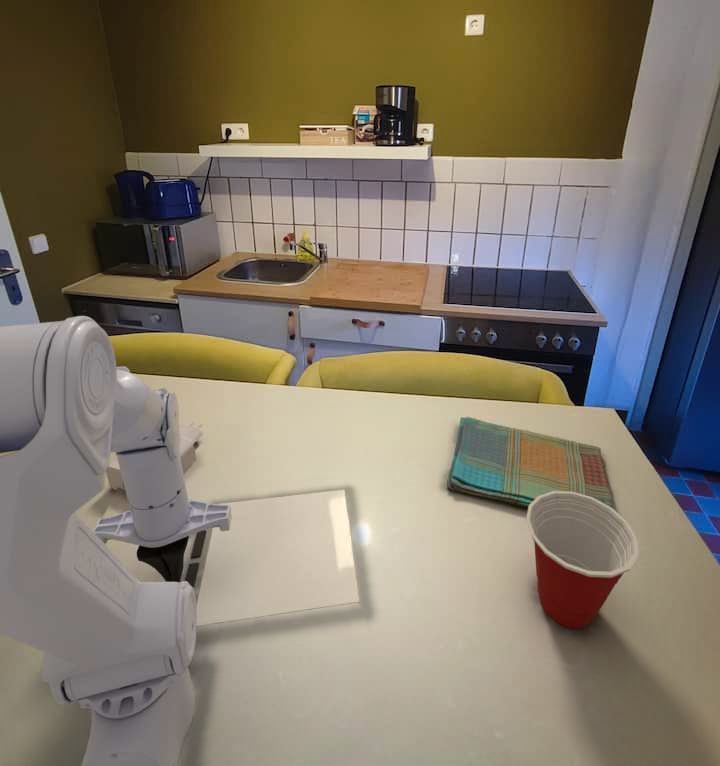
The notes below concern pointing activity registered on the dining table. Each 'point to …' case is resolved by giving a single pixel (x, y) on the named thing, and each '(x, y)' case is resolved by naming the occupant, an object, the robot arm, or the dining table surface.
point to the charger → (185, 450)
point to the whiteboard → (279, 559)
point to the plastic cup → (578, 554)
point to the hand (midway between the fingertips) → (175, 575)
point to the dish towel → (523, 465)
